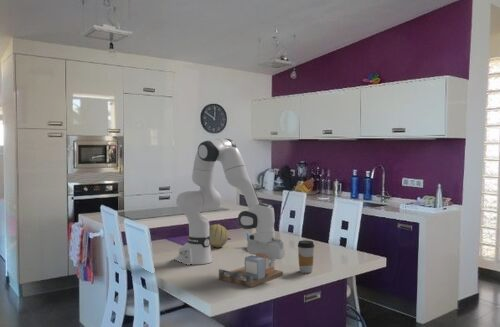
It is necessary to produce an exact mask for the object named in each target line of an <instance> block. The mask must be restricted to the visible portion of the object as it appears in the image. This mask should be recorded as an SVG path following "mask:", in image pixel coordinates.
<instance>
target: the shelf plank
mask: <svg viewBox="0 0 500 327" xmlns="http://www.w3.org/2000/svg"><path fill="white" fill-rule="evenodd" d="M283 275H284V271H282V270H278V269H274V271H273V272H270V273H267V274H265V278H262V279H259V280H257V279H253V277H251V276H247V275H245V266H242V267H240V268H235V269H233V270H226V269H222V268H221V269H220V268H219V269H218V280H221V281H224V282H228V283H229V282H230V283H232V284H237V285H240V286H241V285H242V286H243V287H244V286H245V287H247V288H248V287H249V288H254V287H256V286H258V285H262V284H265V283H267V282H269V281H272V280H274V279H277V278H280V277H282V276H283Z"/></svg>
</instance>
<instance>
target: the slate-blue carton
mask: <svg viewBox="0 0 500 327" xmlns="http://www.w3.org/2000/svg"><path fill="white" fill-rule="evenodd" d="M244 267H245V275H247V276H251V277H253V279H257V280H259V279H262V278H265V258H262V257H257V256H256V255H253V254H250V255H248V256H245V257H244Z"/></svg>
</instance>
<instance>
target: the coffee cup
mask: <svg viewBox="0 0 500 327" xmlns="http://www.w3.org/2000/svg"><path fill="white" fill-rule="evenodd" d="M297 251H298V254H297V255H298V265H299V272H300V273H302V274H311V273H312V272H313V266H314V252H315V244H314V241H313V240H305V239H304V240H303V239H302V240H299V241H298V243H297Z"/></svg>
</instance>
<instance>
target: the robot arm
mask: <svg viewBox="0 0 500 327" xmlns="http://www.w3.org/2000/svg"><path fill="white" fill-rule="evenodd" d="M217 161H218V162H220V163H221V166H222V169H223V172H224V176H225V179H226V181H227V183H228V184H229V185H230V186H232V187H234V188H236V189H238V190H239V191H240V192H242V194H243V196H244V199H245V201H246V204H247V205H246V206H247V209H244V210H242V211H240V213H238V216H237V223H238V225H239V227H240V228H242V229H243V230H252V229H255V233H252V234H249V235H248V239H249V240H248V241H247V246H246V247H247V248H246V249H247V250H246V251H247V254H250V255H253V256H256V254H258V253H260V254H266V255H267V257H269V258H271V262H270V263H269V267H273V263H274V264H275V261H276V260H282V259H284V258H285V248H284V241H283V240H282V239H280V238H276V237H275V236H276V235H275V234H276V233H275V221H276V219H275V217H276V216H275V208H274V206H273V205H272V204H270V203H265V202H261V201H260V200H259V197H258V195H257V191H256V189H255V186H254V184H253V182H252V180H251V178H250V176H249V173H248V170H247V166H246V164H245V163H246V162H245V161H244V158H243V155H242V154H241V152H240V149H239V148H237V145H236V142H235V141H234V140H233V139H230V138H215V139H211V140H205V141H202V142H200V143H199V145H198V146H197V151H196V154H195V157H194V161H193V162H194V163H193V169H192V175H191V179H192V182H193V184H195V185H196V186H198V187H199V190H188V191H184V192H180V193H179V194H178V195H177V197H176V198H175V199H176V200H175V203H176V206H177V209H178V210H179V211H180V212H182V213H183V214H184V215H185V217H186V218H187V222H188V230H189V231H188V234H189V235H188V236H187V237H185V239H186V243H184V244H183V245H182V246H181V247H180V248H179V249H178V254H177V255H178V256H176V257H174V258H173V260H174V259H175V260H174V261H176V260H177V262H178V261H179V263H181V262H182V264H184V265H186V264H187V265H188V266H191V265H190V264H192V265H207V264H210V263H212V262H213V256H212V249H211V246H210V235H209V226H210V222H209V220H208V219H207V218H206V217H204V216H202V215H201V211H211V210H215V209H218V208H220V206H221V204H222V195H221V194H220V192H219V191H218V190H217V189H216V188H215V186H214V173H215V172H214V170H215V164H216V162H217ZM187 265H186V266H187Z"/></svg>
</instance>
